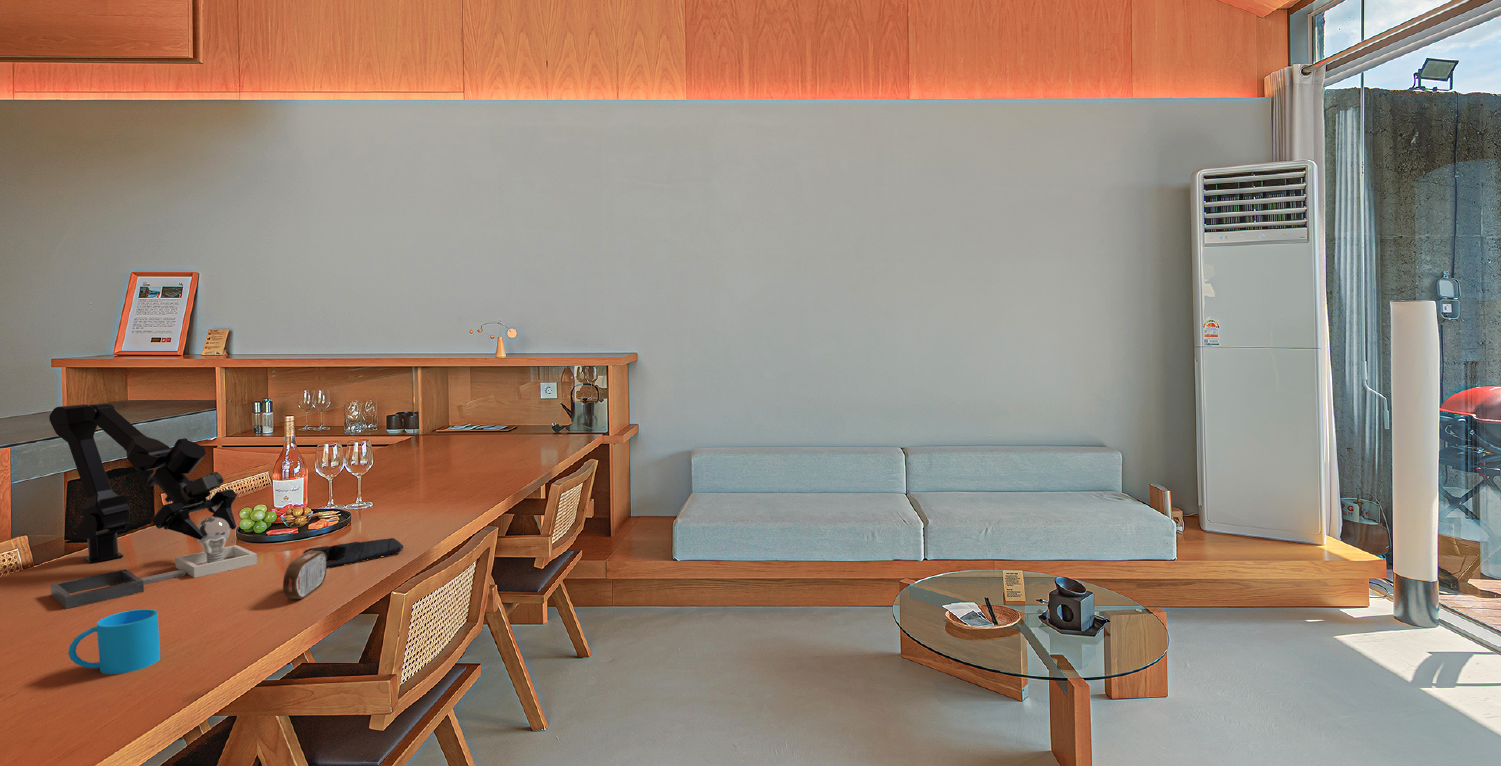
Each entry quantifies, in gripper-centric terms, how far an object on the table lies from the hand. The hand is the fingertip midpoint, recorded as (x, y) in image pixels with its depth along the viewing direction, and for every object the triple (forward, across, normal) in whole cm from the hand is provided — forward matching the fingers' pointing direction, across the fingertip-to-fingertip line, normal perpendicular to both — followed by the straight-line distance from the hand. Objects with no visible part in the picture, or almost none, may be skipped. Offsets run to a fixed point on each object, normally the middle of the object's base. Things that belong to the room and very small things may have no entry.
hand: (218, 533), depth 188 cm
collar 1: (-1, -21, +13) cm, 25 cm away
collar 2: (+5, 0, +6) cm, 8 cm away
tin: (+31, -13, -19) cm, 38 cm away
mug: (+27, -51, -16) cm, 60 cm away
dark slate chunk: (+25, +13, -13) cm, 31 cm away
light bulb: (+5, 0, +7) cm, 8 cm away
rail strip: (+2, -11, +10) cm, 15 cm away
